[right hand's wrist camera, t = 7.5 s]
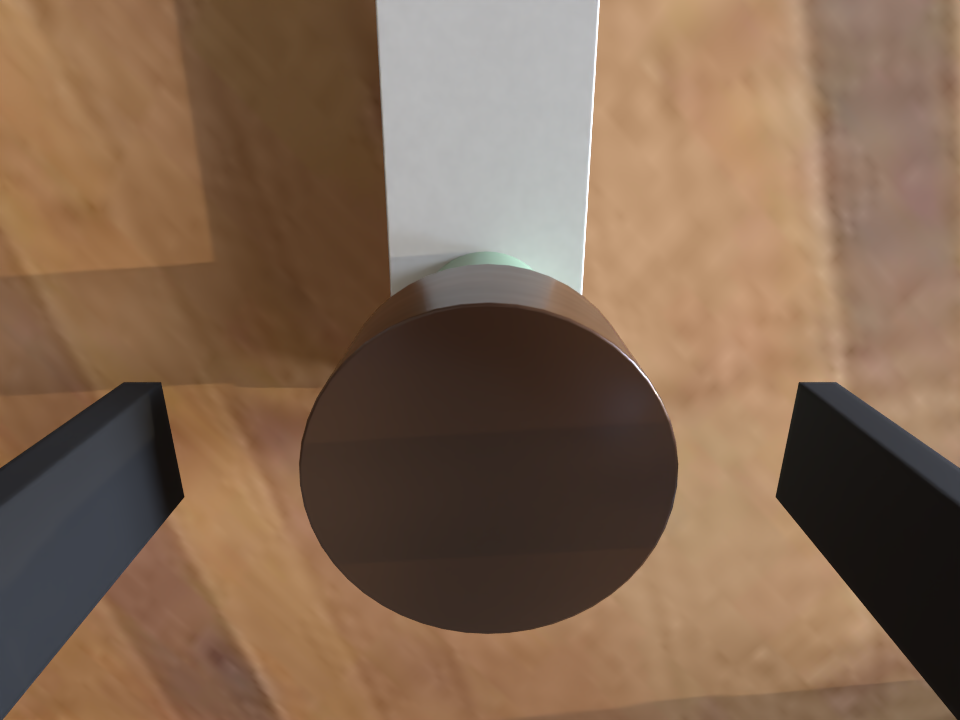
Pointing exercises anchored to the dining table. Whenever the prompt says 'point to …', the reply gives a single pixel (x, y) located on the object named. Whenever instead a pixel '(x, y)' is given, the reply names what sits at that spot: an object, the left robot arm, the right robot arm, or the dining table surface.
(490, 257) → the jar stand
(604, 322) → the brown cylinder
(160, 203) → the dining table surface
